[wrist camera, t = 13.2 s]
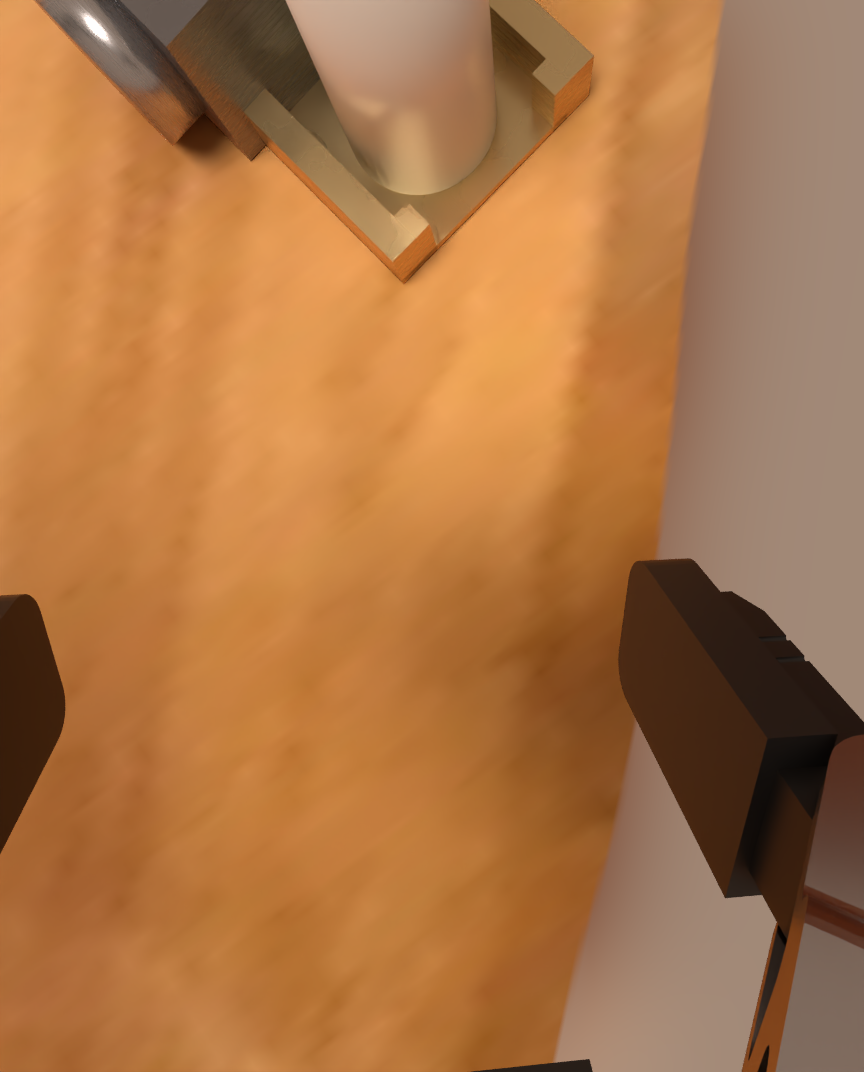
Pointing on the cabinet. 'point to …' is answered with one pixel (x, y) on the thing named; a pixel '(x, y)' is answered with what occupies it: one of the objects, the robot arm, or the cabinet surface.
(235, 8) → the gray box
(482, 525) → the cabinet surface
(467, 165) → the cylinder
